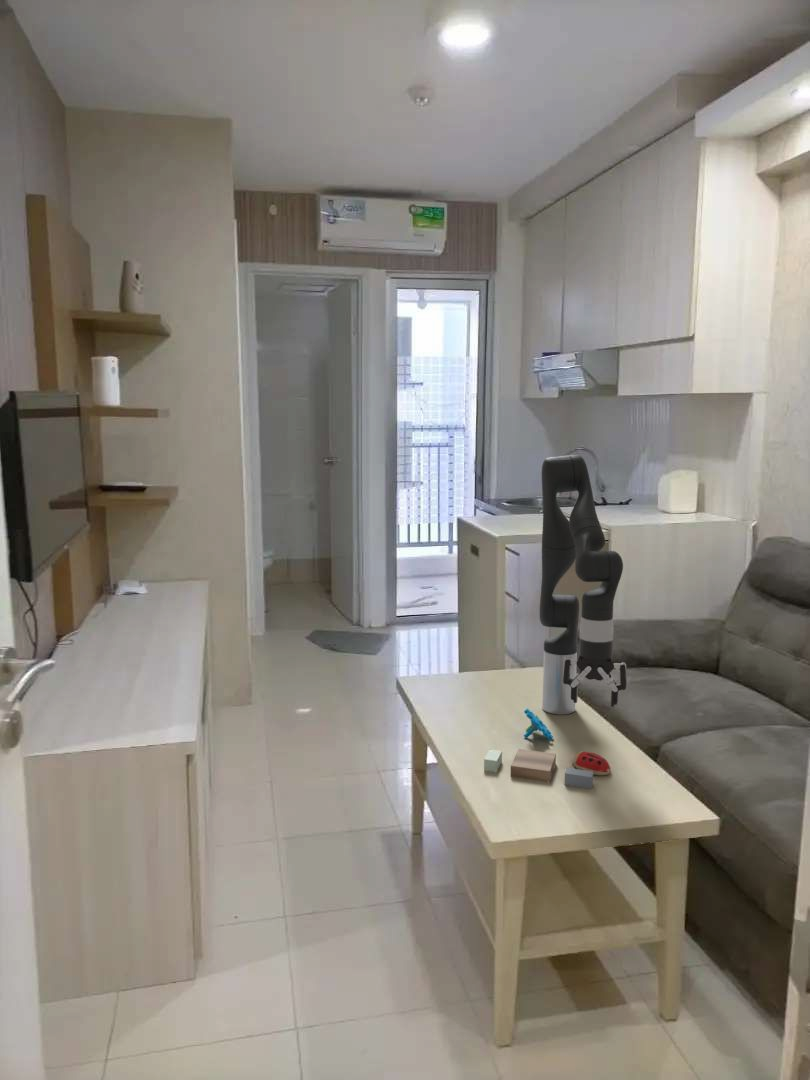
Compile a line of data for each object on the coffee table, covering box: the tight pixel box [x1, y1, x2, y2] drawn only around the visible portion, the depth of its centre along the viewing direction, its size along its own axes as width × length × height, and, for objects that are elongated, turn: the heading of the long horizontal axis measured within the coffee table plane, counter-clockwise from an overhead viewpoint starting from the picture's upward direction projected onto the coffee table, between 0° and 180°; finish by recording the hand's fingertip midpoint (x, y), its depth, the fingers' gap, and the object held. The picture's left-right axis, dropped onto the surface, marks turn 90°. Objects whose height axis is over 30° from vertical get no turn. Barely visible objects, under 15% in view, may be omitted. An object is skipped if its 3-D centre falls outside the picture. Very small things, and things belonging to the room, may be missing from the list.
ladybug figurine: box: [572, 751, 612, 777], centre depth 189 cm, size 7×10×4 cm
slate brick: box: [563, 767, 594, 790], centre depth 181 cm, size 6×3×3 cm, turn 70°
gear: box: [523, 708, 554, 741], centre depth 207 cm, size 11×6×10 cm
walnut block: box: [510, 748, 557, 783], centre depth 188 cm, size 10×9×3 cm
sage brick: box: [483, 748, 503, 773], centre depth 190 cm, size 6×3×3 cm, turn 161°
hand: (593, 703), depth 186 cm, fingers open, 8 cm apart
